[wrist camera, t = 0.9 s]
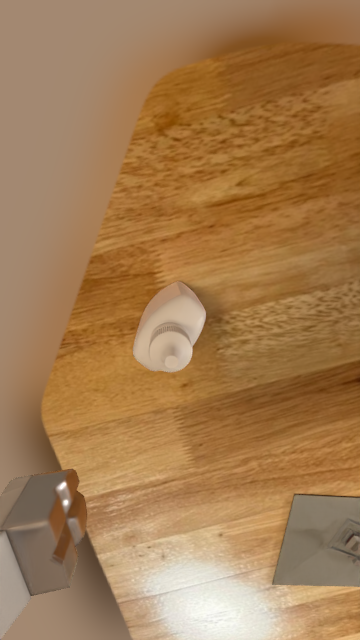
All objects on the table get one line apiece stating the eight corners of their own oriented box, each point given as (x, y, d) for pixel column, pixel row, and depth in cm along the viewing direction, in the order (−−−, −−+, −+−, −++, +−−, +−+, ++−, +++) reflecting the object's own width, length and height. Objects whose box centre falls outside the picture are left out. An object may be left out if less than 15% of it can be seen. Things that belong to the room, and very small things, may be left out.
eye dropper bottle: (128, 298, 26) (101, 342, 14) (188, 276, 26) (210, 302, 14) (146, 343, 27) (135, 417, 16) (204, 321, 27) (237, 380, 15)
